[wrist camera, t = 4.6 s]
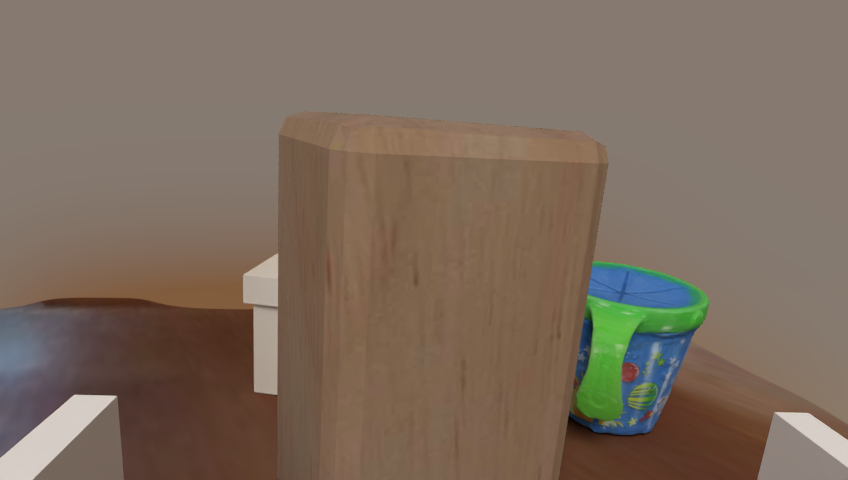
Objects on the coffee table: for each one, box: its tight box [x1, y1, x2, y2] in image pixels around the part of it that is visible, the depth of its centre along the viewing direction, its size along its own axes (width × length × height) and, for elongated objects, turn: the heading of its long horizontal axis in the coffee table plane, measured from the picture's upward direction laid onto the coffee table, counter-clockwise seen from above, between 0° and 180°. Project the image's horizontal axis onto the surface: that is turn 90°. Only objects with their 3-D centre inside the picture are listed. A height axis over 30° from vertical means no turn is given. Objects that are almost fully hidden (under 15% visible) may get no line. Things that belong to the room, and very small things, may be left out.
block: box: [277, 111, 608, 480], centre depth 21 cm, size 10×10×20 cm
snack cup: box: [569, 261, 709, 435], centre depth 36 cm, size 16×11×10 cm
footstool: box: [243, 254, 278, 395], centre depth 41 cm, size 14×14×9 cm
